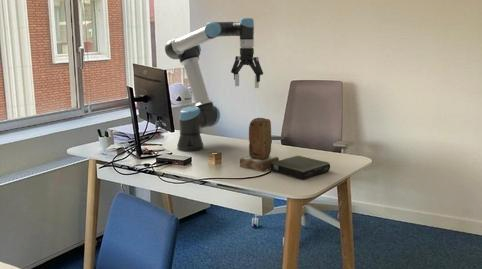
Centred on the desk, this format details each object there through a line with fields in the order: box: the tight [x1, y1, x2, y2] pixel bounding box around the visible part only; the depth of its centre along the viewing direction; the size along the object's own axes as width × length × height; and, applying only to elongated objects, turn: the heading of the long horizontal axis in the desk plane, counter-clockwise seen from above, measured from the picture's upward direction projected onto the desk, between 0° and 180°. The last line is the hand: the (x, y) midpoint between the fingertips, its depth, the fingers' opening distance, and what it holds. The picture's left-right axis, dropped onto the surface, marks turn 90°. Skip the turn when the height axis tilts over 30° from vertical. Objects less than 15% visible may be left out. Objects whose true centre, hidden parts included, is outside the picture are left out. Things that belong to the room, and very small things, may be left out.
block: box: [248, 117, 272, 159], centre depth 266 cm, size 11×8×20 cm
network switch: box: [270, 155, 331, 181], centre depth 258 cm, size 23×24×5 cm
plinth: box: [239, 155, 279, 172], centre depth 268 cm, size 14×14×4 cm
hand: (246, 87), depth 288 cm, fingers open, 13 cm apart
